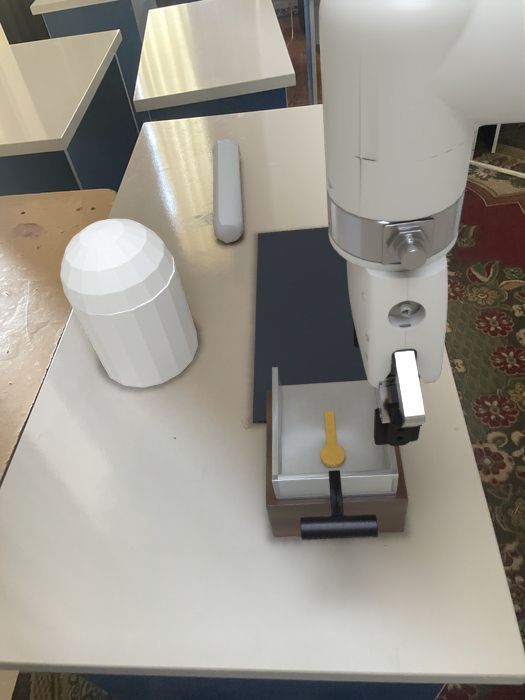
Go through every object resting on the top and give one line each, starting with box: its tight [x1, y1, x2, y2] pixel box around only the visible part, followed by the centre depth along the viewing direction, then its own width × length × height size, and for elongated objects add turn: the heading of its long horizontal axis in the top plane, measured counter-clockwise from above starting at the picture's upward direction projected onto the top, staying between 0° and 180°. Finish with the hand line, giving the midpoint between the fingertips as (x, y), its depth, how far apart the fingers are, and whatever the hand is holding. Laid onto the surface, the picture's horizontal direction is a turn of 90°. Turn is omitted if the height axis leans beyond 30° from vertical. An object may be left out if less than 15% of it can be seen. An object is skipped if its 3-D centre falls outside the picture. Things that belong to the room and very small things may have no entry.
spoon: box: [320, 411, 345, 468], centre depth 56 cm, size 6×2×1 cm, turn 179°
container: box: [59, 218, 199, 389], centre depth 70 cm, size 14×13×20 cm
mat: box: [252, 226, 399, 424], centre depth 78 cm, size 36×18×1 cm, turn 179°
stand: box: [265, 387, 409, 538], centre depth 59 cm, size 14×13×7 cm
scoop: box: [272, 367, 399, 541], centre depth 52 cm, size 19×11×6 cm, turn 179°
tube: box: [211, 138, 245, 244], centre depth 96 cm, size 5×5×25 cm
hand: (383, 388), depth 45 cm, fingers open, 9 cm apart
